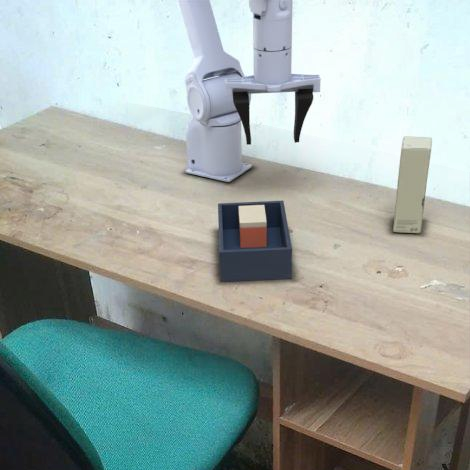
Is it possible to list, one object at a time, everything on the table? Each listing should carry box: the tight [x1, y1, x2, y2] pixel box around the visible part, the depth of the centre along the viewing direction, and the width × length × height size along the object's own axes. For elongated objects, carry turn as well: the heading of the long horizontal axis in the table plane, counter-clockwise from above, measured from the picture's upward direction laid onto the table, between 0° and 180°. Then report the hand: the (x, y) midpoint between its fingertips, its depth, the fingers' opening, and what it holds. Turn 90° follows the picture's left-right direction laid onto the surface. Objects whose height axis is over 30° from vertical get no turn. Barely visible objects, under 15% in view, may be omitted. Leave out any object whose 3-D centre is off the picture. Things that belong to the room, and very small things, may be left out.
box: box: [392, 135, 433, 234], centre depth 121 cm, size 5×4×13 cm
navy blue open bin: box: [217, 200, 293, 283], centre depth 119 cm, size 16×10×5 cm, turn 2°
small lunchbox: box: [238, 205, 267, 248], centre depth 121 cm, size 6×4×4 cm, turn 2°
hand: (272, 141), depth 128 cm, fingers open, 7 cm apart
